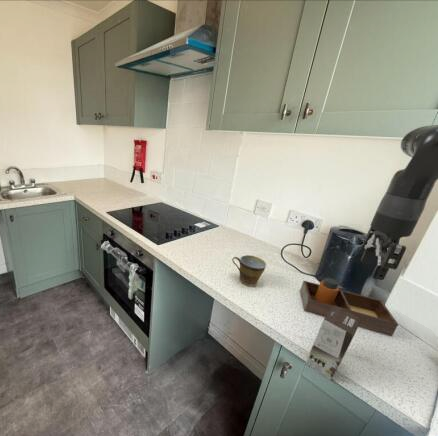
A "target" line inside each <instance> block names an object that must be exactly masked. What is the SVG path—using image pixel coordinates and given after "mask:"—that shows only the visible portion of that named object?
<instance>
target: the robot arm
mask: <svg viewBox="0 0 438 436" xmlns="http://www.w3.org/2000/svg"><path fill="white" fill-rule="evenodd" d="M400 149H401V152H402V153H403V154H405V156H407V157H410V158H411V159H410V160H409V161H408V163H407V165H406V166H405V167H404V168H402V169H399V170H397V171H396V172H395V173H394V174H393V176H392V178H391V179H390V182H389V184H388V187H387V189H386V192H385V193H384V195H383V197H382V198H381V200H380V202H379V204H378V206H377V207H376V208H377V209H376V211H375V213H374V216H373V218H372V220H371V223H370V227H369V229H368V231H367V233H366V236H365V238H364V240H363V242H362V244H363V245H364V252H363V254H362V256H361V259H360V262H361V263H362V264H367V265H371V264H372V263H373V261H374V259H375V257H377V264H376V266H375V268H374V270H373V271H372V274H371V277H372V278H373V279H375V280H379V281H383V280H385V279H386V275H387V274H388V272H389V270H390V269H391V270H397V269H398V267H399V265H400V263H401V261H402V259H403V257H404V254H405V252H406V250H407V246H405V245H400V240H401V239H402V238H408V237H410V236H412V234H413V232H414V230H415V228H416V226H417V224H418V222H419V220H420V218H421V217H422V214H423V212H424V210H425V207H426V204H427V201H428V199H429V197H430V195H431V193H432V192H433V189H434V187H435V184H436V183H437V181H438V124H432V125H424V126H419V127H417V128H415V129H412V130H411V131H408V133H406V134H405V135H404V137H402V139H401V141H400Z"/></svg>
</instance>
